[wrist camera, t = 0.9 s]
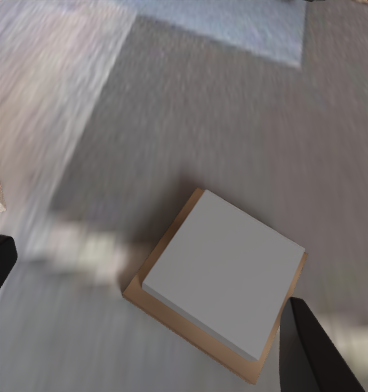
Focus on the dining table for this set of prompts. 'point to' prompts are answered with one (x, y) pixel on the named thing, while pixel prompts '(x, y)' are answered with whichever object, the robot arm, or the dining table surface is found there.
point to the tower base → (185, 327)
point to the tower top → (226, 274)
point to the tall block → (2, 201)
